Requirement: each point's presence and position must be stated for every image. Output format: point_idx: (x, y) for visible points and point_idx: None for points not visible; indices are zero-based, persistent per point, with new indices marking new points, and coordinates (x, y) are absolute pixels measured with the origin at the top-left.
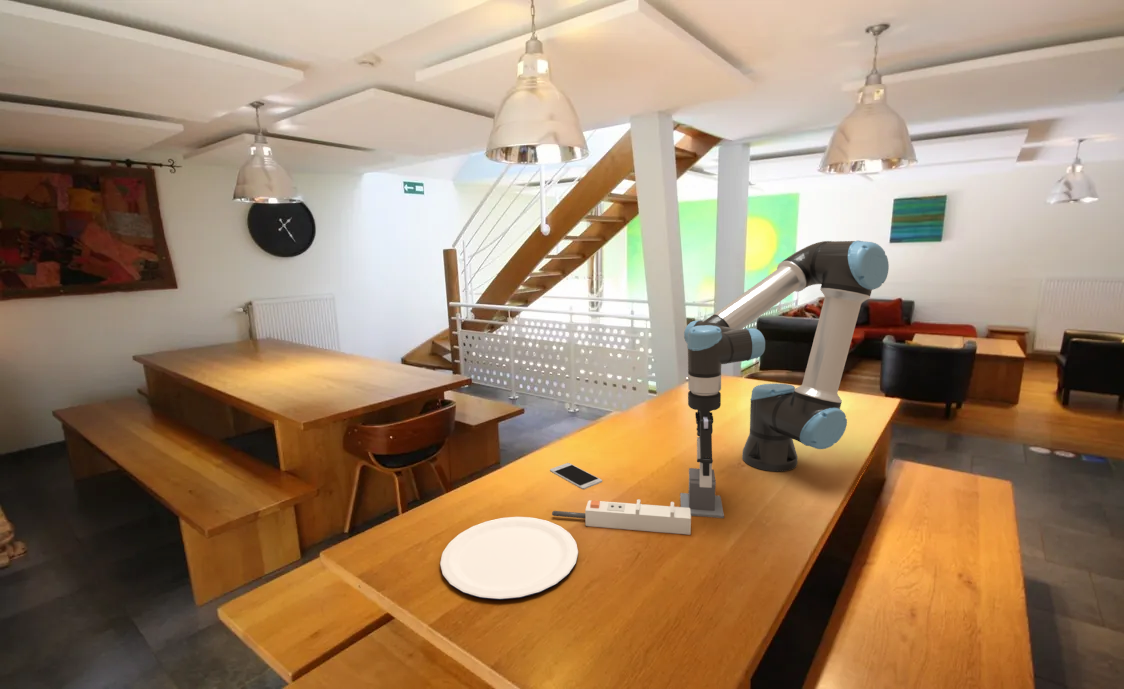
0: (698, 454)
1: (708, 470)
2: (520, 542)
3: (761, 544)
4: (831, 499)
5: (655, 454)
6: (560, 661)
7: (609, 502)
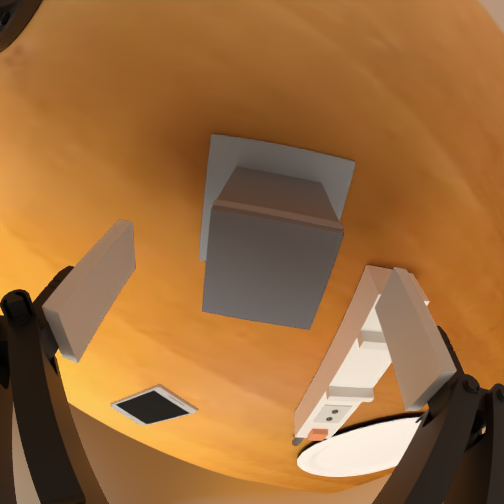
0: (118, 286)
1: (450, 352)
2: (352, 450)
3: (480, 116)
4: None
5: (12, 267)
6: None
7: (309, 420)
